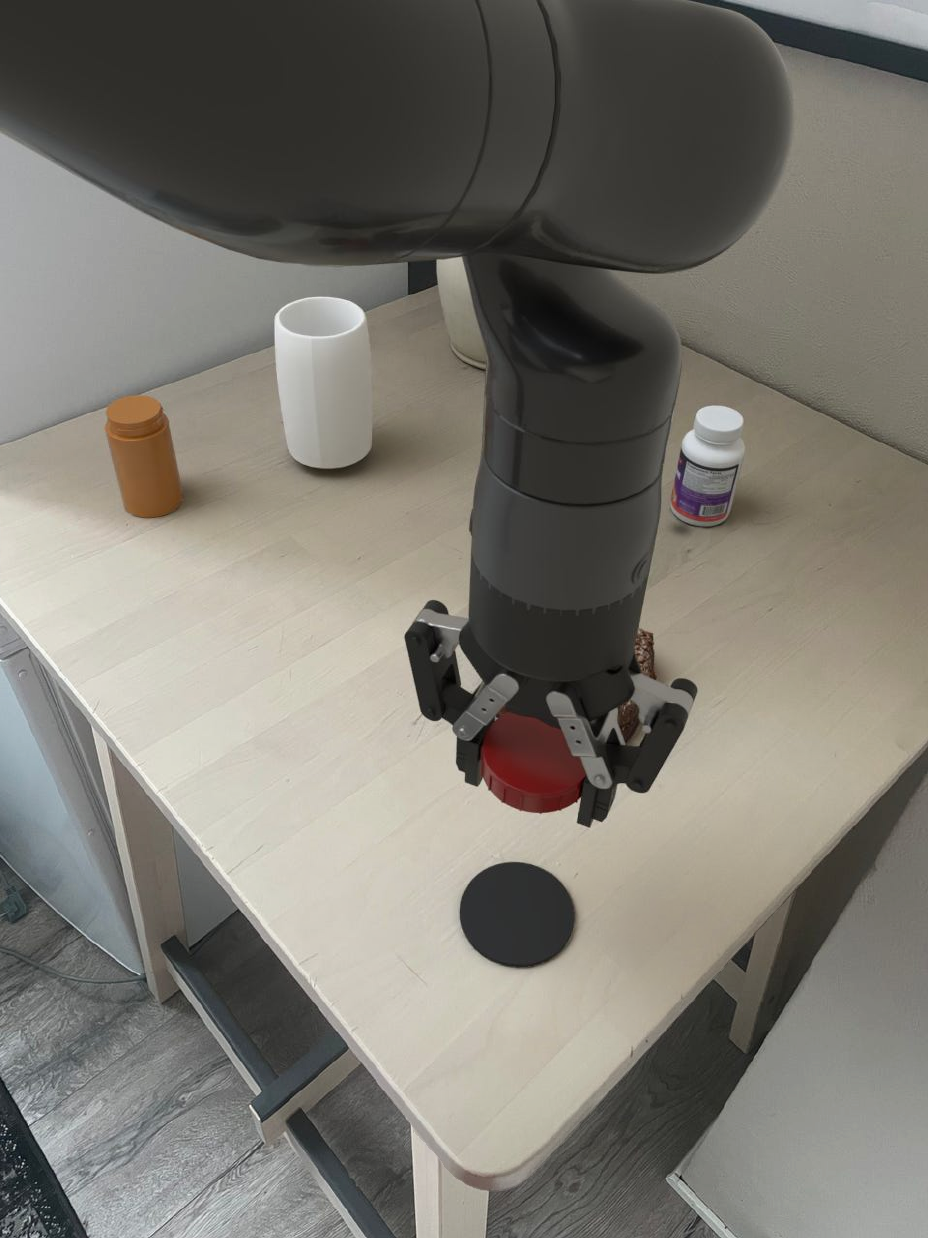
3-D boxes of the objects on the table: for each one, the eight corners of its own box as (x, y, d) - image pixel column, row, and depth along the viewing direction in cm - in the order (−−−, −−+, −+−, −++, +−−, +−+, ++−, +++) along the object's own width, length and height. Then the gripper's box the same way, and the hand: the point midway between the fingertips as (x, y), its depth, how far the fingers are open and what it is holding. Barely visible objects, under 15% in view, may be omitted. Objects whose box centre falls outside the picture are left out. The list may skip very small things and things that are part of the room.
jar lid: (510, 711, 56) (512, 690, 55) (610, 752, 54) (613, 732, 53) (459, 785, 52) (460, 764, 51) (564, 832, 50) (567, 812, 49)
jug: (406, 348, 113) (404, 105, 96) (495, 301, 122) (507, 70, 105) (516, 398, 106) (534, 146, 89) (601, 344, 115) (633, 105, 98)
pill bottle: (682, 485, 96) (702, 393, 89) (737, 504, 94) (761, 412, 87) (659, 515, 92) (678, 422, 86) (716, 535, 90) (739, 442, 84)
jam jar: (175, 519, 90) (156, 427, 83) (116, 516, 90) (92, 424, 83) (189, 484, 94) (172, 393, 87) (132, 481, 94) (111, 390, 87)
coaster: (550, 986, 59) (551, 983, 59) (440, 940, 61) (440, 937, 61) (589, 889, 64) (590, 886, 64) (486, 849, 66) (486, 846, 66)
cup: (381, 434, 100) (377, 297, 91) (367, 485, 94) (361, 344, 85) (296, 427, 101) (282, 291, 91) (276, 477, 95) (259, 336, 85)
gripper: (752, 539, 43) (683, 787, 55) (441, 454, 47) (438, 702, 59) (709, 654, 38) (643, 900, 50) (365, 548, 42) (378, 799, 54)
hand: (532, 792), depth 54 cm, fingers closed on jar lid, 5 cm apart
